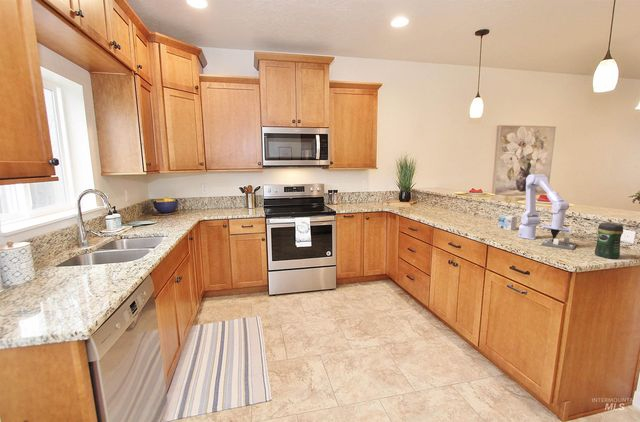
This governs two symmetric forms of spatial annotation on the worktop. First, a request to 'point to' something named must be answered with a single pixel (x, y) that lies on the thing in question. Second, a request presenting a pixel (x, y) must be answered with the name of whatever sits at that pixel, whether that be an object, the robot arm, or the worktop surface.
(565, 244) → the fader console
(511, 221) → the light bulb box
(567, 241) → the cream slider knob
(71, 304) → the worktop surface
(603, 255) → the coffee jar
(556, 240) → the fader cap cream
